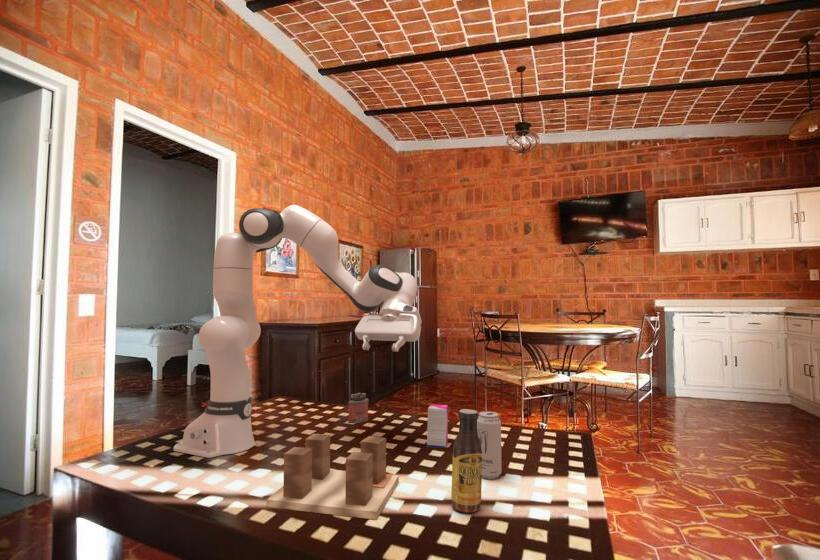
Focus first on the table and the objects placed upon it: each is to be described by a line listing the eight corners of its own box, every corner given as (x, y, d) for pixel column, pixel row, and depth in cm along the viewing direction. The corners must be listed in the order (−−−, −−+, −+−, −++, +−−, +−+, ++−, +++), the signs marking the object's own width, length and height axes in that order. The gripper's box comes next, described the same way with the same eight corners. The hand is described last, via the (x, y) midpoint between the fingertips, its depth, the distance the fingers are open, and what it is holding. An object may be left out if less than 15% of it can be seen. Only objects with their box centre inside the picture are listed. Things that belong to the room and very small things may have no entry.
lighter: (365, 418, 157) (365, 391, 158) (370, 420, 155) (370, 392, 155) (346, 422, 152) (346, 393, 153) (351, 424, 150) (351, 395, 150)
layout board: (266, 506, 89) (267, 455, 89) (305, 473, 106) (306, 430, 107) (376, 519, 83) (376, 465, 84) (398, 482, 101) (398, 437, 102)
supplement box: (446, 448, 125) (446, 409, 125) (426, 447, 126) (426, 407, 127) (448, 442, 130) (448, 404, 131) (429, 440, 132) (429, 403, 132)
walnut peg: (360, 481, 97) (360, 441, 98) (369, 474, 101) (369, 435, 102) (377, 484, 95) (377, 443, 96) (385, 477, 99) (386, 438, 100)
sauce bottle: (458, 516, 85) (457, 415, 86) (446, 502, 91) (446, 408, 92) (488, 512, 86) (487, 413, 88) (474, 498, 92) (474, 406, 94)
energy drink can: (471, 474, 106) (471, 413, 106) (487, 468, 109) (487, 409, 110) (491, 482, 101) (490, 418, 102) (506, 475, 105) (505, 414, 106)
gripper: (360, 307, 133) (344, 341, 124) (421, 307, 126) (408, 343, 116) (367, 321, 137) (352, 354, 128) (426, 322, 129) (414, 358, 120)
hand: (379, 349), depth 122 cm, fingers open, 8 cm apart
